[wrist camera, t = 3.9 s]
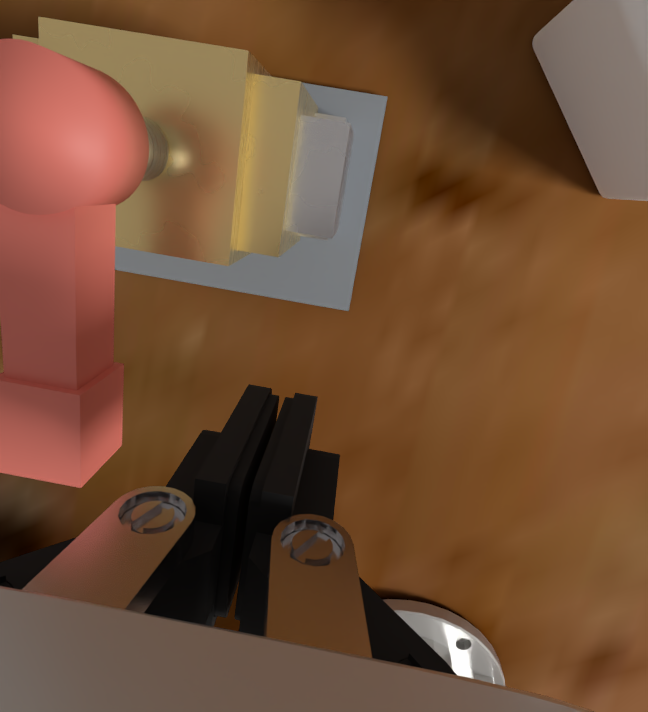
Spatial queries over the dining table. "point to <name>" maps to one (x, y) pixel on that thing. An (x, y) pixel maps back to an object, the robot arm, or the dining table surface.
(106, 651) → the robot arm
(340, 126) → the valve
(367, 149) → the mat
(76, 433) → the lever
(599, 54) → the medicine bottle
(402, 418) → the dining table surface
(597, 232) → the dining table surface
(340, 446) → the dining table surface
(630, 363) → the dining table surface
